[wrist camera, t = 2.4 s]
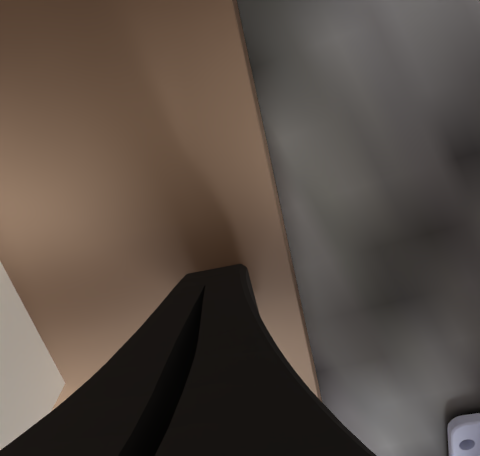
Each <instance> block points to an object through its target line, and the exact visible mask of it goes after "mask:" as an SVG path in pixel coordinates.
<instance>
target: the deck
mask: <svg viewBox="0 0 480 456" xmlns="http://www.w3.org/2000/svg"><path fill="white" fill-rule="evenodd" d="M0 261H1V263H2V265H3V267H4V269H5V271H6V273H7V275H8V276H9V278H10V280H11V282H12V284H13V286H14V288H15V290H16V291H17V293H18V295H19V297H20V299H21V301H22V303H23V305H24V307H25V308H26V310H27V312H28V314H29V316H30V318H31V320H32V322H33V323H34V325H35V327H36V329H37V331H38V333H39V335H40V337H41V339H42V340H43V342H44V344H45V346H46V348H47V350H48V352H49V354H50V356H51V357H52V359H53V361H54V363H55V365H56V367H57V369H58V371H59V372H60V374H61V376H62V378H63V380H64V382H65V385H64V387H63V389H62V391H61V393H60V395H59V397H58V399H57V401H56V403H55V405H54V406H53V408H52V410H51V411H53V410H54V409H55V408H56V407H57V406H59V405H60V404H61V403H62V402H64V401H65V400H66V399H67V398H68V397H69V396H70V395H72V394H73V393H74V392H75V391H76V390H77V389H78V388H80V387H81V386H82V385H83V384H84V383H85V382H86V381H88V380H89V379H90V378H91V377H92V376H93V375H94V374H95V373H96V372H97V371H98V370H99V369H100V368H101V367H102V366H103V365H105V364H106V363H107V362H108V361H109V359H110V358H111V357H112V356H113V355H114V354H115V353H116V352H117V351H118V350H119V349H120V348H121V347H122V346H123V345H124V344H125V343H126V342H127V341H128V340H129V339H130V338H131V336H132V335H133V334H134V333H135V332H136V331H137V330H138V329H139V328H140V327H141V326H142V325H143V323H144V322H145V321H146V320H147V319H148V318H149V316H150V315H151V314H152V313H153V312H154V311H155V310H156V308H157V307H158V306H159V305H160V304H161V303H162V301H163V300H164V299H165V298H166V297H167V295H168V294H169V293H170V292H171V291H172V290H173V288H174V287H175V286H176V285H177V284H178V283H179V281H180V280H181V279H182V278H183V277H184V276H185V275H186V274H188V273H194V272H199V271H204V270H210V269H215V268H220V267H225V266H231V265H236V264H242V265H244V266H246V267H247V269H248V273H249V277H250V280H251V284H252V288H253V292H254V296H255V299H256V303H257V307H258V311H259V314H260V317H261V319H262V321H263V323H264V324H265V326H266V328H267V330H268V331H269V333H270V335H271V336H272V338H273V340H274V341H275V343H276V345H277V346H278V348H279V349H280V351H281V352H282V354H283V355H284V356H285V358H286V359H287V361H288V362H289V363H290V365H291V366H292V367H293V369H294V370H295V371H296V373H297V374H298V375H299V376H300V378H301V379H302V380H303V381H304V382H305V384H306V385H307V386H308V387H309V389H310V390H311V391H312V392H313V393H314V394H315V395H316V396H317V397H318V398H319V399H320V401H321V402H322V398H321V394H320V389H319V384H318V380H317V375H316V370H315V366H314V361H313V356H312V352H311V347H310V342H309V338H308V333H307V328H306V323H305V319H304V314H303V309H302V305H301V300H300V295H299V291H298V286H297V281H296V277H295V272H294V267H293V263H292V258H291V253H290V248H289V244H288V239H287V234H286V230H285V225H284V220H283V216H282V211H281V206H280V202H279V197H278V192H277V188H276V183H275V178H274V173H273V169H272V164H271V159H270V155H269V150H268V145H267V141H266V136H265V131H264V127H263V122H262V117H261V113H260V108H259V103H258V98H257V94H256V89H255V84H254V80H253V75H252V70H251V66H250V61H249V56H248V52H247V47H246V42H245V38H244V33H243V28H242V23H241V19H240V14H239V9H238V5H237V0H0Z"/></svg>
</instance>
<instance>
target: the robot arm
mask: <svg viewBox="0 0 480 456" xmlns="http://www.w3.org/2000/svg"><path fill="white" fill-rule="evenodd" d="M447 430H448V448H449V456H480V413H475V414H468V415H461V416H458V417H455V418H454V419H452V420H451V421H450V422H449V424H448V428H447ZM0 456H376V455H375V454H374V453H373V452H372V451H371V450H369V449H368V448H367V447H366V446H365V445H364V444H363V443H362V442H361V441H360V440H359V439H358V438H357V437H356V436H355V435H353V434H352V433H351V432H350V431H349V430H348V429H347V428H346V427H345V426H344V425H343V424H342V423H341V422H340V421H339V420H338V419H337V418H336V417H335V416H334V415H333V413H332V412H331V411H330V410H329V409H328V408H327V407H326V406H325V405H324V404H323V403H322V402H321V401H320V399H319V398H318V397H317V396H316V395H315V394H314V393H313V392H312V391H311V390H310V389H309V387H308V386H307V385H306V384H305V382H304V381H303V380H302V379H301V378H300V376H299V375H298V374H297V373H296V371H295V370H294V369H293V367H292V366H291V365H290V363H289V362H288V361H287V359H286V358H285V356H284V355H283V354H282V352H281V351H280V349H279V348H278V346H277V345H276V343H275V341H274V340H273V338H272V336H271V335H270V333H269V331H268V330H267V328H266V326H265V324H264V323H263V321H262V319H261V317H260V314H259V311H258V307H257V303H256V299H255V296H254V292H253V288H252V284H251V280H250V277H249V273H248V269H247V267H246V266H244V265H242V264H236V265H231V266H225V267H220V268H215V269H210V270H204V271H199V272H194V273H188V274H186V275H185V276H184V277H183V278H182V279H181V280H180V281H179V283H178V284H177V285H176V286H175V287H174V288H173V290H172V291H171V292H170V293H169V294H168V295H167V297H166V298H165V299H164V300H163V301H162V303H161V304H160V305H159V306H158V307H157V308H156V310H155V311H154V312H153V313H152V314H151V315H150V316H149V318H148V319H147V320H146V321H145V322H144V323H143V325H142V326H141V327H140V328H139V329H138V330H137V331H136V332H135V333H134V334H133V335H132V336H131V338H130V339H129V340H128V341H127V342H126V343H125V344H124V345H123V346H122V347H121V348H120V349H119V350H118V351H117V352H116V353H115V354H114V355H113V356H112V357H111V358H110V359H109V361H108V362H107V363H106V364H105V365H103V366H102V367H101V368H100V369H99V370H98V371H97V372H96V373H95V374H94V375H93V376H92V377H91V378H90V379H89V380H88V381H86V382H85V383H84V384H83V385H82V386H81V387H80V388H78V389H77V390H76V391H75V392H74V393H73V394H72V395H70V396H69V397H68V398H67V399H66V400H65V401H64V402H62V403H61V404H60V405H59V406H57V407H56V408H55V409H54V410H53V411H51V412H50V413H49V414H47V415H46V416H45V417H43V418H42V419H41V420H39V421H38V422H37V423H36V424H34V425H33V426H32V427H30V428H29V429H28V430H26V431H25V432H24V433H23V434H21V435H20V436H19V437H17V438H16V439H15V440H13V441H12V442H11V443H9V444H8V445H7V446H5V447H4V448H3V449H1V450H0Z"/></svg>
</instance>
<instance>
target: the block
mask: <svg viewBox="0 0 480 456" xmlns="http://www.w3.org/2000/svg"><path fill="white" fill-rule="evenodd" d="M64 385H65V382H64V380H63V378H62V376H61V374H60V372H59V371H58V369H57V367H56V365H55V363H54V361H53V359H52V357H51V356H50V354H49V352H48V350H47V348H46V346H45V344H44V342H43V340H42V339H41V337H40V335H39V333H38V331H37V329H36V327H35V325H34V323H33V322H32V320H31V318H30V316H29V314H28V312H27V310H26V308H25V307H24V305H23V303H22V301H21V299H20V297H19V295H18V293H17V291H16V290H15V288H14V286H13V284H12V282H11V280H10V278H9V276H8V275H7V273H6V271H5V269H4V267H3V265H2V263H1V261H0V450H1V449H3V448H4V447H5V446H7V445H8V444H9V443H11V442H12V441H13V440H15V439H16V438H17V437H19V436H20V435H21V434H23V433H24V432H25V431H26V430H28V429H29V428H30V427H32V426H33V425H34V424H36V423H37V422H38V421H39V420H41V419H42V418H43V417H45V416H46V415H47V414H49V413H50V412H51V410H52V408H53V406H54V405H55V403H56V401H57V399H58V397H59V395H60V393H61V391H62V389H63V387H64Z"/></svg>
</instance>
